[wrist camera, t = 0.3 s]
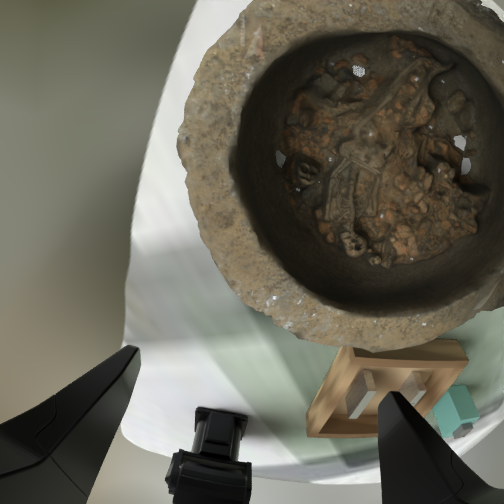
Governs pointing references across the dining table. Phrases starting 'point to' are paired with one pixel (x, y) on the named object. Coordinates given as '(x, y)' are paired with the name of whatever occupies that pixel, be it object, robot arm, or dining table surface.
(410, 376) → the socket
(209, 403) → the dining table surface
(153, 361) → the dining table surface
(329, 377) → the walled box
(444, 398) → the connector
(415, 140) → the stone bowl
